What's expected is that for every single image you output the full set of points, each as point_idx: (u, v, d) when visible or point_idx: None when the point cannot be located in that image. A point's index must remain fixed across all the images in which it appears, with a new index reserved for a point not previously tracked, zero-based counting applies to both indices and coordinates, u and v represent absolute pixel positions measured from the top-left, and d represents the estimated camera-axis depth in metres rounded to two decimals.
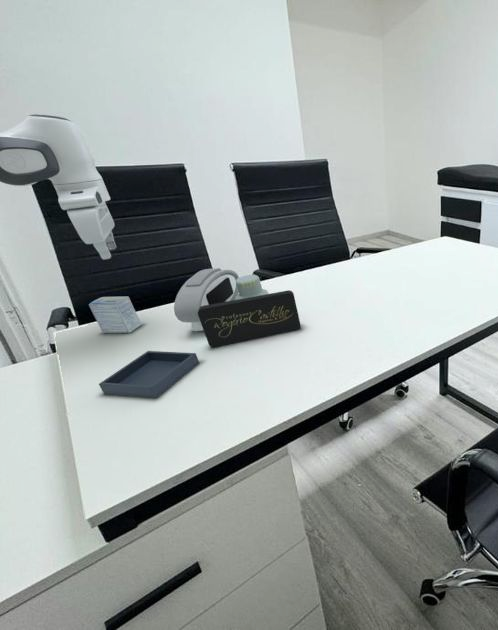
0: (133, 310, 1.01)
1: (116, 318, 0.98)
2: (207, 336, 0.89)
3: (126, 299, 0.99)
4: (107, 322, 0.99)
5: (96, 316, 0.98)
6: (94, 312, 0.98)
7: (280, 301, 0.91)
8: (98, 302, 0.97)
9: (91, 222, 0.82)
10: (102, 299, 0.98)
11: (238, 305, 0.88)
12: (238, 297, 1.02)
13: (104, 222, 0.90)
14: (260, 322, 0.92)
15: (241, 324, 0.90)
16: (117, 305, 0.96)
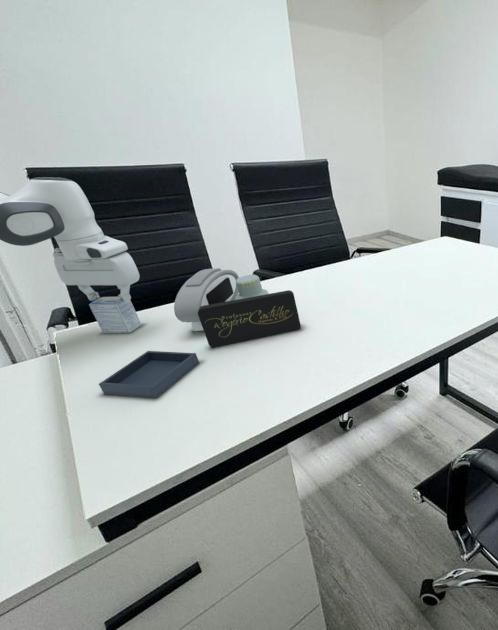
0: (133, 310, 1.01)
1: (116, 318, 0.98)
2: (207, 336, 0.89)
3: None
4: (107, 322, 0.99)
5: (96, 316, 0.98)
6: (94, 312, 0.98)
7: (280, 301, 0.91)
8: (98, 302, 0.97)
9: (131, 264, 0.93)
10: (102, 299, 0.99)
11: (238, 305, 0.88)
12: (238, 297, 1.02)
13: None
14: (260, 322, 0.92)
15: (241, 324, 0.90)
16: (117, 305, 0.96)
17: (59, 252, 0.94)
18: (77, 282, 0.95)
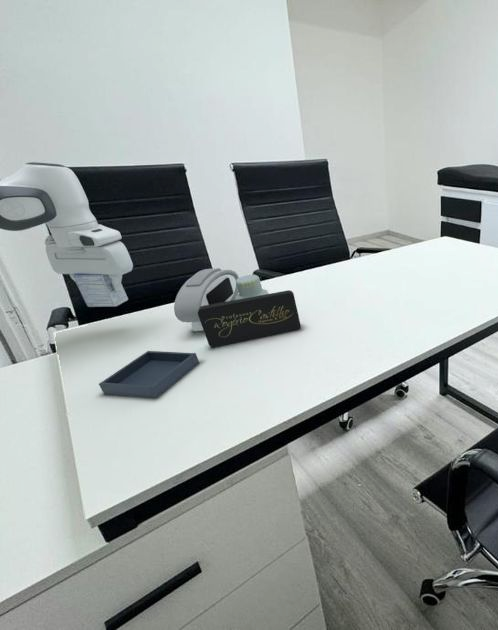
0: None
1: (101, 291, 0.94)
2: (207, 336, 0.89)
3: None
4: (92, 295, 0.95)
5: (81, 288, 0.95)
6: (79, 284, 0.94)
7: (280, 301, 0.91)
8: (83, 274, 0.94)
9: (124, 253, 0.92)
10: None
11: (238, 305, 0.88)
12: (238, 297, 1.02)
13: None
14: (260, 322, 0.92)
15: (241, 324, 0.90)
16: (102, 277, 0.93)
17: (51, 240, 0.92)
18: (69, 270, 0.94)
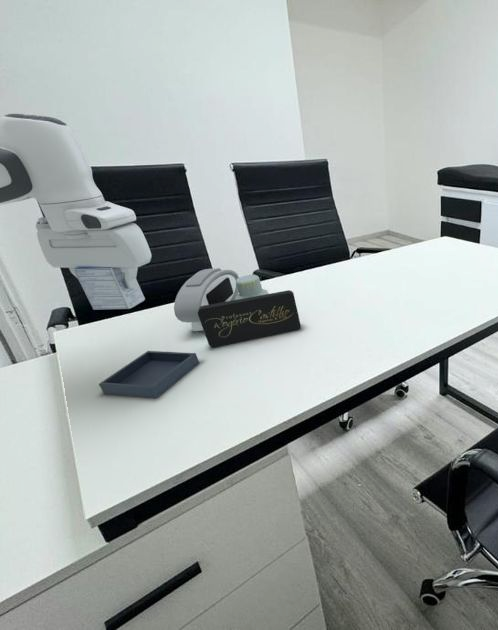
0: None
1: (111, 289, 0.72)
2: (207, 336, 0.89)
3: None
4: (100, 295, 0.73)
5: (84, 286, 0.73)
6: (81, 281, 0.72)
7: (280, 301, 0.91)
8: (87, 267, 0.72)
9: (140, 239, 0.70)
10: None
11: (238, 305, 0.88)
12: (238, 297, 1.02)
13: None
14: (260, 322, 0.92)
15: (241, 324, 0.90)
16: (112, 271, 0.71)
17: (44, 223, 0.70)
18: (68, 263, 0.72)
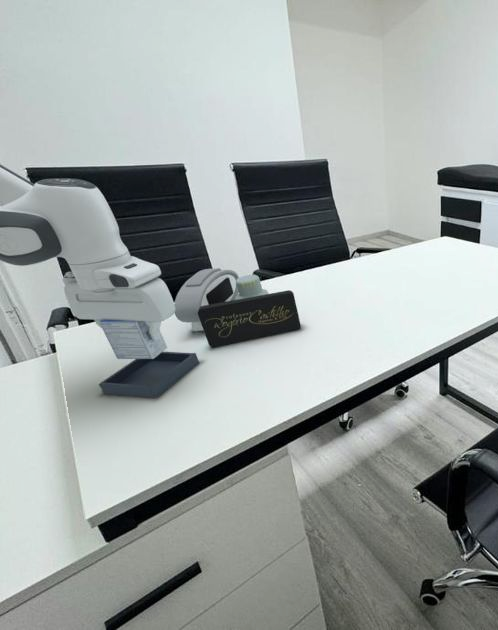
0: None
1: (136, 341, 0.74)
2: (207, 336, 0.89)
3: None
4: (124, 346, 0.75)
5: (109, 338, 0.74)
6: (107, 332, 0.74)
7: (280, 301, 0.91)
8: None
9: (165, 294, 0.71)
10: None
11: (238, 305, 0.88)
12: (238, 297, 1.02)
13: None
14: (260, 322, 0.92)
15: (241, 324, 0.90)
16: (137, 324, 0.72)
17: (71, 277, 0.72)
18: (94, 316, 0.73)
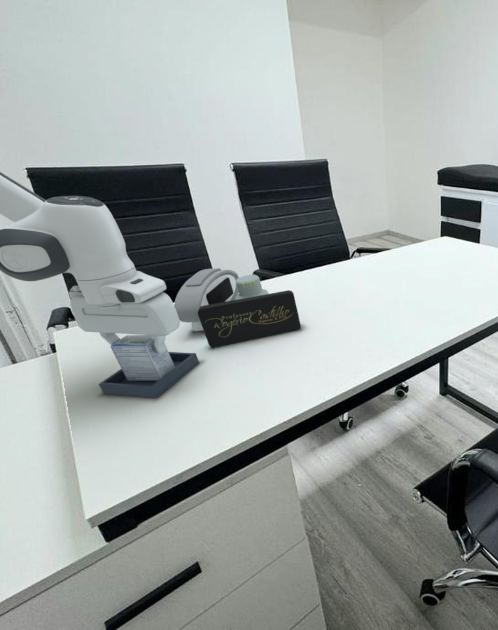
0: (166, 352, 0.79)
1: (145, 364, 0.76)
2: (207, 336, 0.89)
3: None
4: (134, 368, 0.77)
5: (120, 361, 0.77)
6: (117, 356, 0.76)
7: (280, 301, 0.91)
8: (122, 343, 0.75)
9: (170, 309, 0.73)
10: (127, 339, 0.77)
11: (238, 305, 0.88)
12: (238, 297, 1.02)
13: None
14: (260, 322, 0.92)
15: (241, 324, 0.90)
16: (147, 348, 0.74)
17: (77, 291, 0.73)
18: (99, 329, 0.74)
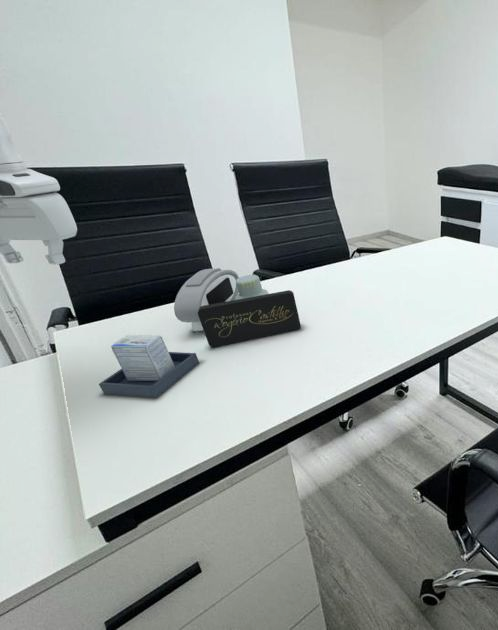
0: (166, 352, 0.79)
1: (146, 364, 0.76)
2: (207, 336, 0.89)
3: (158, 339, 0.77)
4: (134, 369, 0.77)
5: (120, 361, 0.77)
6: (118, 356, 0.76)
7: (280, 301, 0.91)
8: (123, 344, 0.75)
9: (63, 210, 0.65)
10: (128, 339, 0.77)
11: (238, 305, 0.88)
12: (238, 297, 1.02)
13: None
14: (260, 322, 0.92)
15: (241, 324, 0.90)
16: (147, 348, 0.74)
17: None
18: None
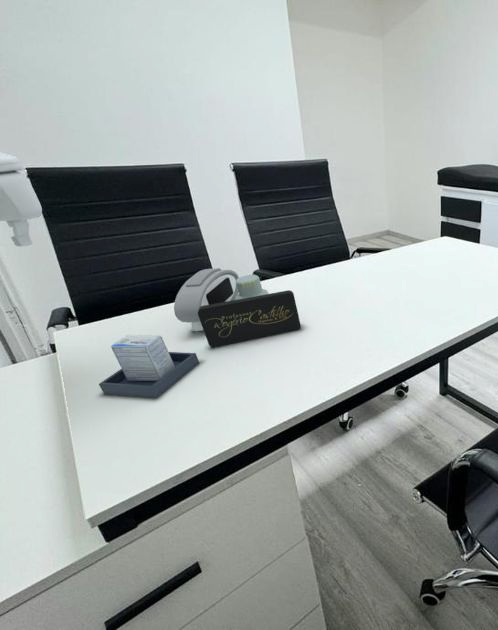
0: (166, 352, 0.79)
1: (146, 364, 0.76)
2: (207, 336, 0.89)
3: (158, 339, 0.77)
4: (134, 369, 0.77)
5: (120, 361, 0.77)
6: (118, 356, 0.76)
7: (280, 301, 0.91)
8: (123, 344, 0.75)
9: (26, 190, 0.64)
10: (128, 339, 0.77)
11: (238, 305, 0.88)
12: (238, 297, 1.02)
13: None
14: (260, 322, 0.92)
15: (241, 324, 0.90)
16: (147, 348, 0.74)
17: None
18: None
